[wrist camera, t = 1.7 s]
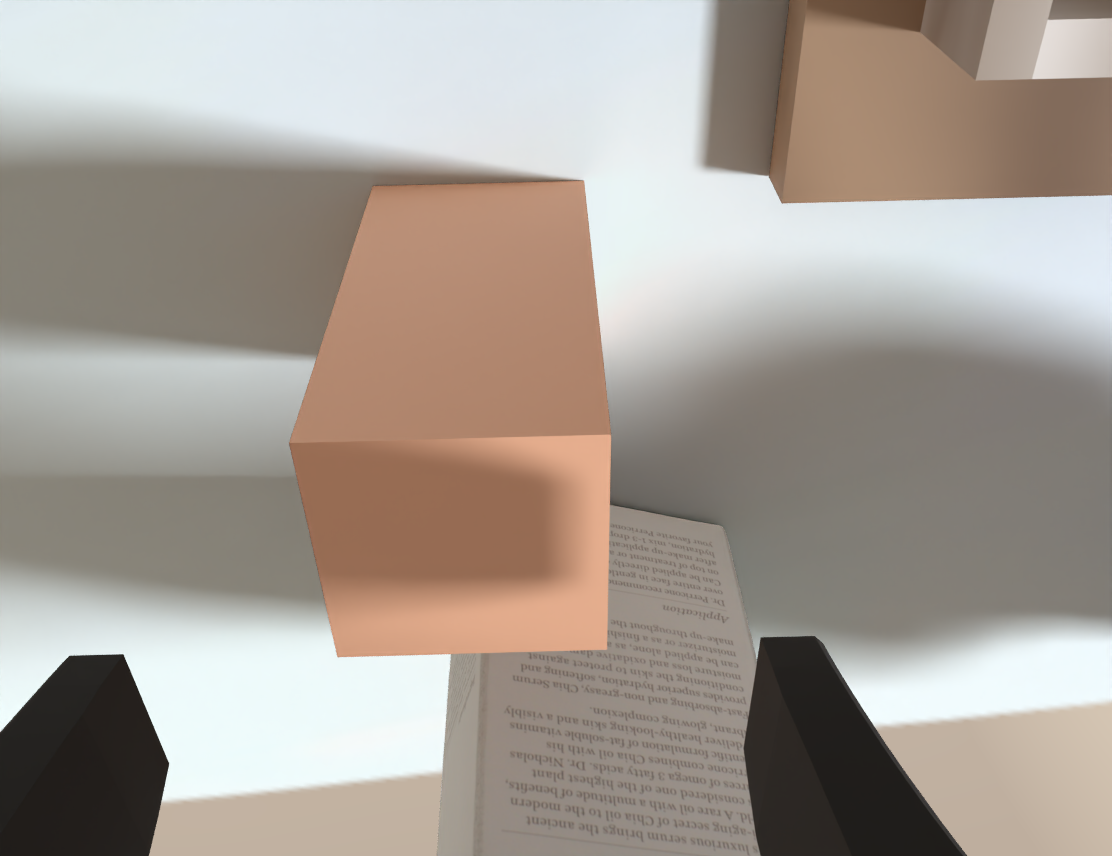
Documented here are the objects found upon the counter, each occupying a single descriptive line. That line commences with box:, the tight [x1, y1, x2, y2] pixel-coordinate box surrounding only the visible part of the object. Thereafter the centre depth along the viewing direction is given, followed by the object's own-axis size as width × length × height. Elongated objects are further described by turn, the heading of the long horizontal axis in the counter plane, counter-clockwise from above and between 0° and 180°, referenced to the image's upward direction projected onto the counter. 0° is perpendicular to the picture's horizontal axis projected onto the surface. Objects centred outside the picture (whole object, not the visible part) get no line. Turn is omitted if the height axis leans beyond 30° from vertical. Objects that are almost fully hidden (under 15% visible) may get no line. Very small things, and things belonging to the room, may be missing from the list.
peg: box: [289, 181, 611, 657], centre depth 17 cm, size 4×4×8 cm
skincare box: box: [437, 505, 761, 856], centre depth 20 cm, size 6×4×12 cm
